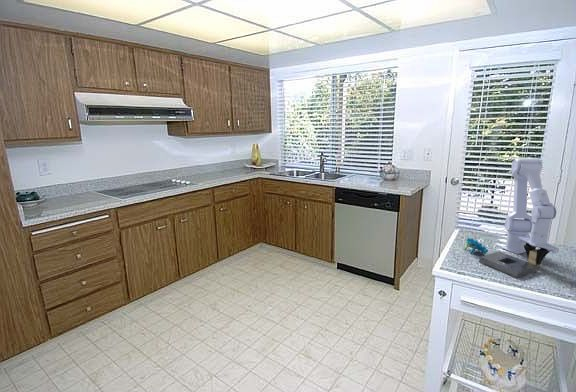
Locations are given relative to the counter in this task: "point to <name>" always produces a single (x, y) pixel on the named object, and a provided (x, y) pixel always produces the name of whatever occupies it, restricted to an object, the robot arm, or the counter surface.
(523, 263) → the gray slab with hole
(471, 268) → the counter surface
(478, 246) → the blue irregular piece
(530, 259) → the tan wooden beam
